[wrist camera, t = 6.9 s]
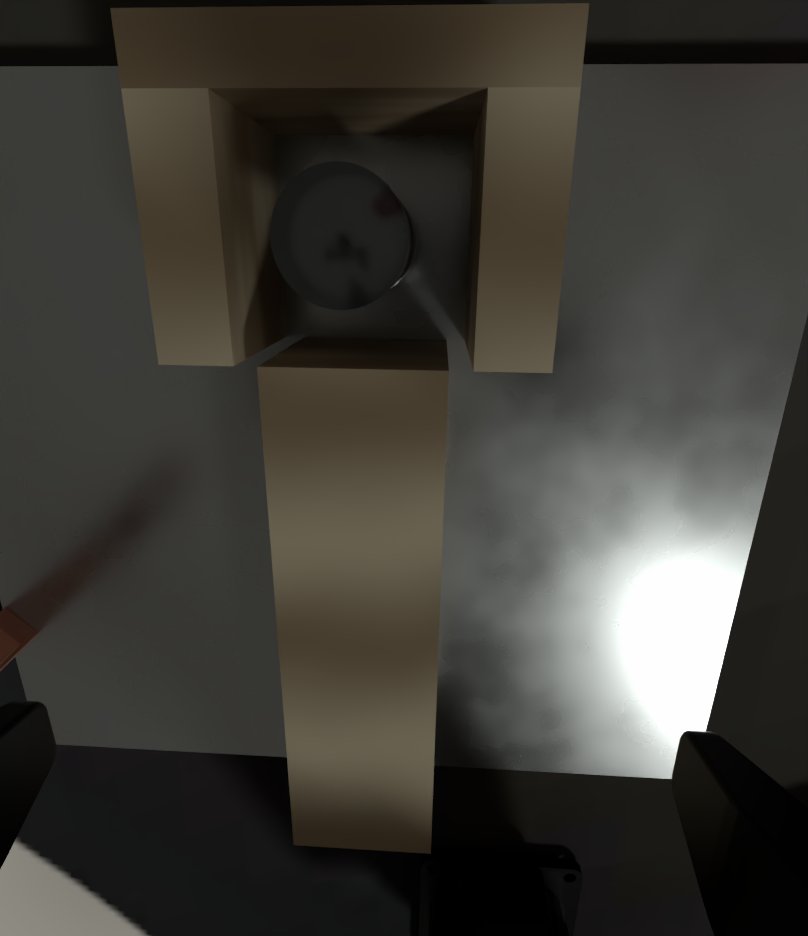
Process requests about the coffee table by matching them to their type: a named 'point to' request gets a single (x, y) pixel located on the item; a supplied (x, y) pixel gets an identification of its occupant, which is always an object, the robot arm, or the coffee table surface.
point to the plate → (467, 441)
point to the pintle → (342, 236)
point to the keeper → (13, 636)
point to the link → (351, 359)
